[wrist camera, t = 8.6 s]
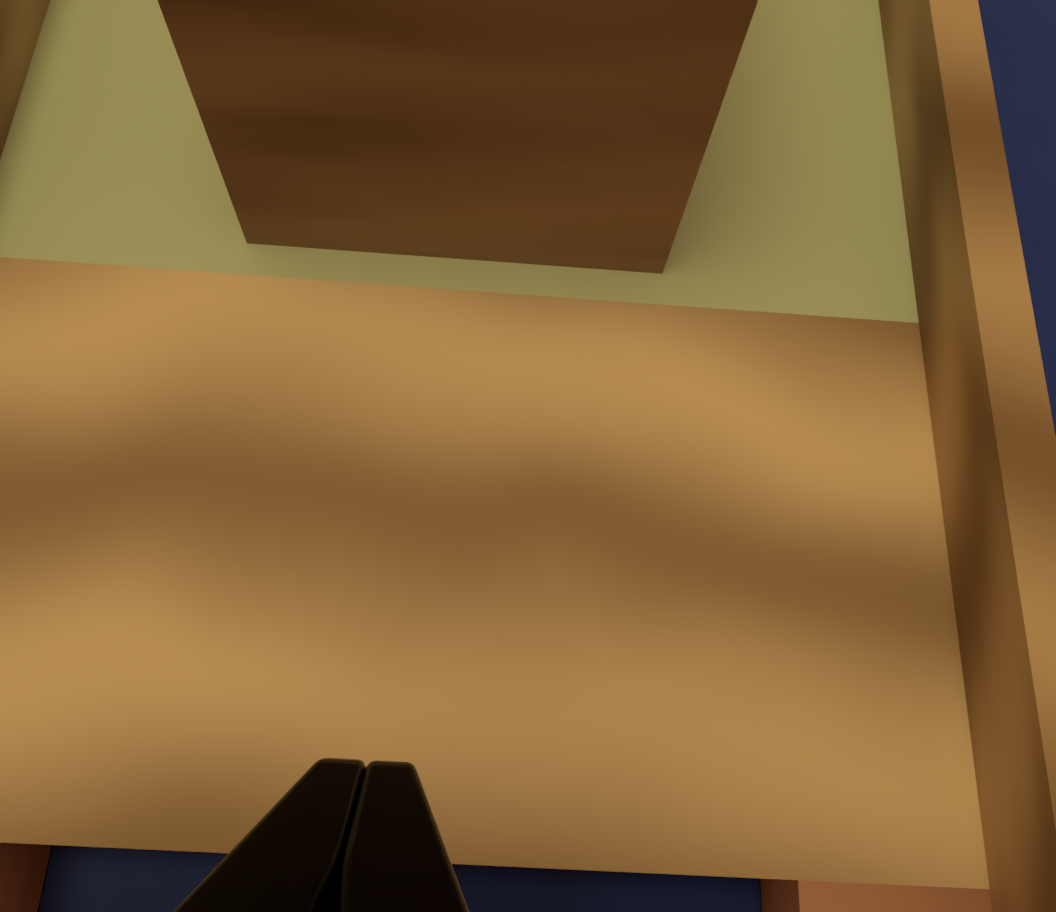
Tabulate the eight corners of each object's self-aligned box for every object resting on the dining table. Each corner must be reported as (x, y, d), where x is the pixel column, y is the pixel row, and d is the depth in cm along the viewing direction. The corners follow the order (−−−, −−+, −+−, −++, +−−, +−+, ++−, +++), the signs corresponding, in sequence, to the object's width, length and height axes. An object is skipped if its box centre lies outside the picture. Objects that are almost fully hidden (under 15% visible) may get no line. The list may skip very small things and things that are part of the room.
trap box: (1131, 2045, 12) (1443, 2611, 8) (-569, 2051, 11) (-1107, 2684, 7) (827, -399, 31) (876, -567, 27) (203, -463, 30) (167, -645, 26)
